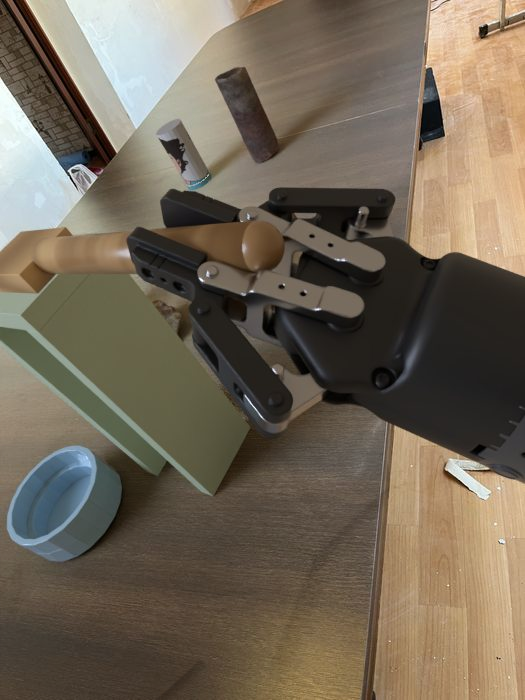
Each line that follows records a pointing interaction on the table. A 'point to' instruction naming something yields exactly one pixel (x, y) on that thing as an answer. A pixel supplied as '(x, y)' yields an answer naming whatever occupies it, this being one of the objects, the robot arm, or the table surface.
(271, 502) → the table surface
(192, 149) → the grey printed cylinder
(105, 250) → the wooden tool
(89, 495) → the bowl
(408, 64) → the table surface
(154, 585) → the table surface
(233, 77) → the dark brown cylinder
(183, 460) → the stand
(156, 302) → the decorative stone
